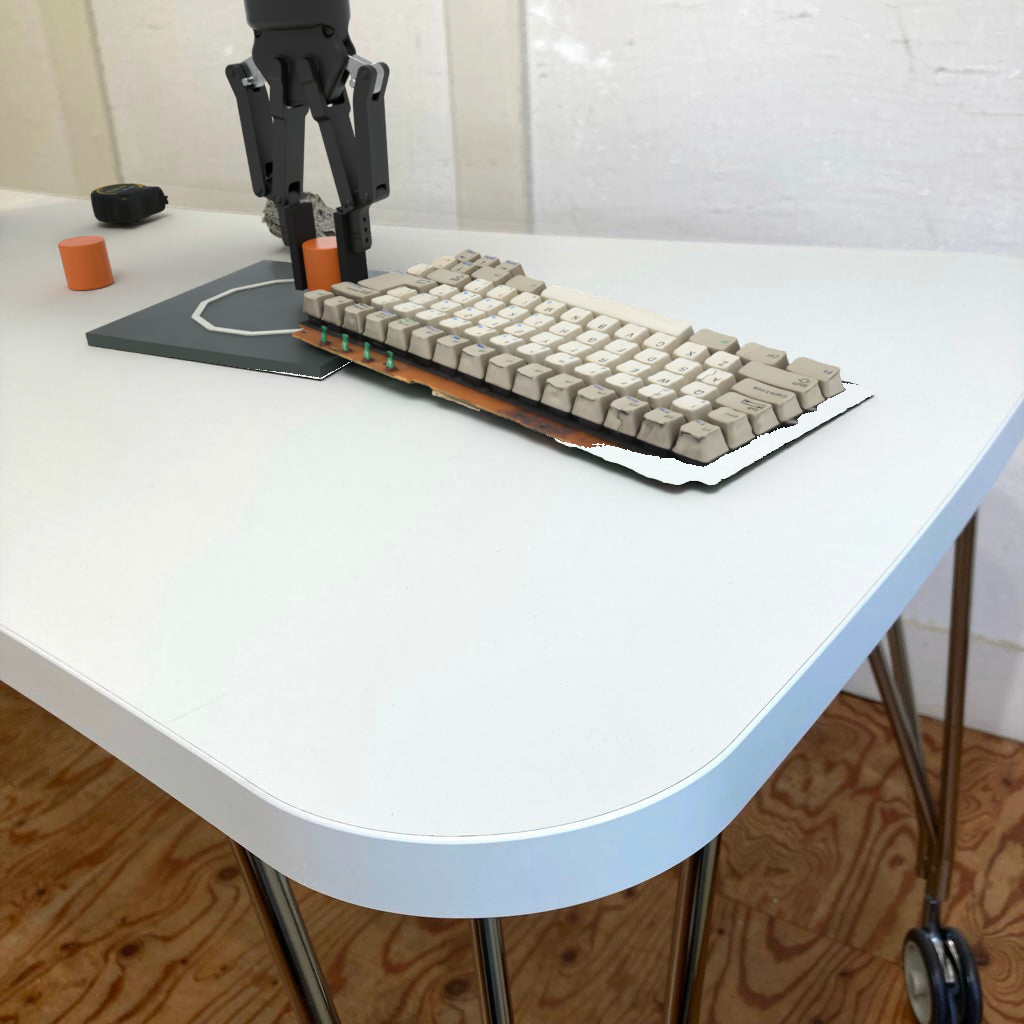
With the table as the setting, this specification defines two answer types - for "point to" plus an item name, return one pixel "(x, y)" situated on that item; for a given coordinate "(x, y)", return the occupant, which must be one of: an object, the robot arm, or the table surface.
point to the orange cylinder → (86, 262)
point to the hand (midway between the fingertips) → (332, 287)
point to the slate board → (228, 324)
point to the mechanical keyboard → (565, 359)
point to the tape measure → (127, 202)
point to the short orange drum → (321, 263)
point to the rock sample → (321, 217)
